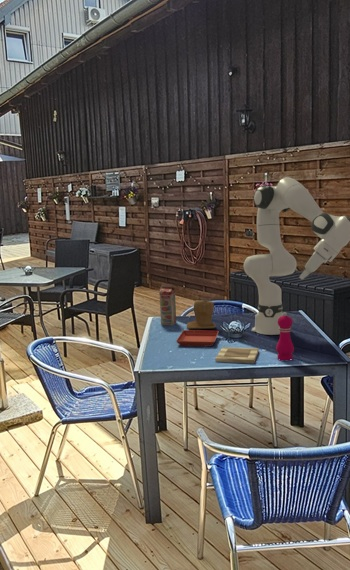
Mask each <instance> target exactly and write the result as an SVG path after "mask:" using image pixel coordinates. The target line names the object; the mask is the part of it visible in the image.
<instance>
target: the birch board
mask: <svg viewBox="0 0 350 570" xmlns="http://www.w3.org/2000/svg"><path fill="white" fill-rule="evenodd" d="M258 354H259V348H256V347H255V348H254V347H232V346H229V347H228V346H222V347H221V349H220V350H219V352H218V353H217V355H216V356H215V363H216V362H217V363H218V362H219V363H234V364H236V363H237V364H240V363H241V364H253V363H254V364H255V362H256V359H257V357H258Z"/></svg>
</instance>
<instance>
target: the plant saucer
mask: <svg viewBox="0 0 350 570" xmlns="http://www.w3.org/2000/svg"><path fill="white" fill-rule="evenodd" d="M219 332H220V331H219V330H199V329H187V330H185V329H184V330H182V331H181V332H180V334H179V336H178V337H177V338H176V340H175V341H176V343H177V344H178V345H179V346H188V347H189V346H190V347H212V346H213V345H214V343H215V342H216V339H217V338H218V337H217V336H218V335H219Z"/></svg>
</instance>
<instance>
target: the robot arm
mask: <svg viewBox="0 0 350 570" xmlns="http://www.w3.org/2000/svg"><path fill="white" fill-rule="evenodd" d="M253 203H254V205H255V207H256V208H257V212H256V236H257V238H256V239H257V240H256V241H257V243H258V244H259V245H260V246H262V247H264V248H266V249H268V250H269V253H266V254H254V255H249V256H247V257H246V258H245V260H244V262H243V270H244V273H245V274H246V276H248V277H249V278H251V279H252V281H253V282H254V283H255V284H256V287H257V291H258V303H257V305H258V306H257V313H256V314H255V315H254V317H255V319H254V320H255V321H254V327H252V328H251V331H252V332H256V334H257V333H258V334H260V335H267V336H268V335H270V336H273V335H274V336H275V335H280V331H279V327H280V326H279V325H278V319H279V318H280V317H281V316H283V313H284V312H283V307H284V306H283V302H282V288H281V287H280V286H279V285H278V284H277V283H274V282H271V280H270V277H285V276H288V275H289V276H290V275H292V274H294V272H295V271H296V270H297V263H298V262H297V260H296V258H295V257H294V255H293V254H291V253H289V251H288V250H287V249H286V248H285V247H284V245H283V243H282V239H281V230H280V228H281V227H280V213H281V212H284V213H286V212H288V211H290V210H292V212H295V213H297V214H298V215H299V216H301V217H304V218H305V219H307V220H308V221H309V222H311V225H310V227H311V230H312V232H313V233H314V234H315V235H316V236H317V237H318V238H320V240H319V241H318V243H316V245H315V246H314V247H313V250H314V252H313V253H312V255H311V256H310V257H309V259H308V260H307V262H306V263H305V265H304V268H305V269H304V270H303V271H302V272H301V274H300V275H299V277H298V278H299V279H300V280H304V279H306V278H307V277H308V276H309V275H310V274H311V273H313V272H316V270H317V269H318V268H320V266H321V265H323V263H324V264H326V263H327V262H329V263H331V262H333V260H334V259H335V258H336V257H337V256H338V255H339V254H340V252H341V250H342V249H343V248H344V247H345V246H347V244H348V243H349V242H350V217H349V216H348V215H342V216H338V215H333V214H329V213H328V212H324V211H323V210H322V209H321V207H320V206H319V205H318V203H317V202H316V200H315V199H314V197H313V196H312V194H311V193H310V191H309V190H308V189H307V188H306V187H305V186H304V185H303V184H302V183H300V181H298V180H296V179H294V178H292V177H287V176H286V177H284V178H281V179H280V180H279V181H278V182H277V185H264V186H260V187H258V188H256V190H255V191H254V194H253Z"/></svg>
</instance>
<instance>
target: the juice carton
mask: <svg viewBox="0 0 350 570" xmlns="http://www.w3.org/2000/svg"><path fill="white" fill-rule="evenodd" d="M158 292H159V311H160V312H159V313H160V325H161V326H174V325H175V324H176V323H177V307H176V306H177V305H176V304H177V303H176V289H175V287H174V285H173V284H171V283H167V284H166V283H162V284H160V289H159V291H158Z"/></svg>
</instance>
